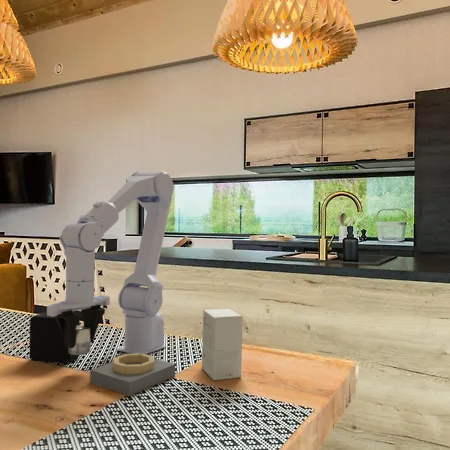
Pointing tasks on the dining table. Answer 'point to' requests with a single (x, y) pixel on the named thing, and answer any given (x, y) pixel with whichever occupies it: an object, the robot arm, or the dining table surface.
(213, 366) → the small box
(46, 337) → the electronic device
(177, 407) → the dining table surface
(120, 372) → the grey square plate
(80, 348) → the shiny metal cylinder
